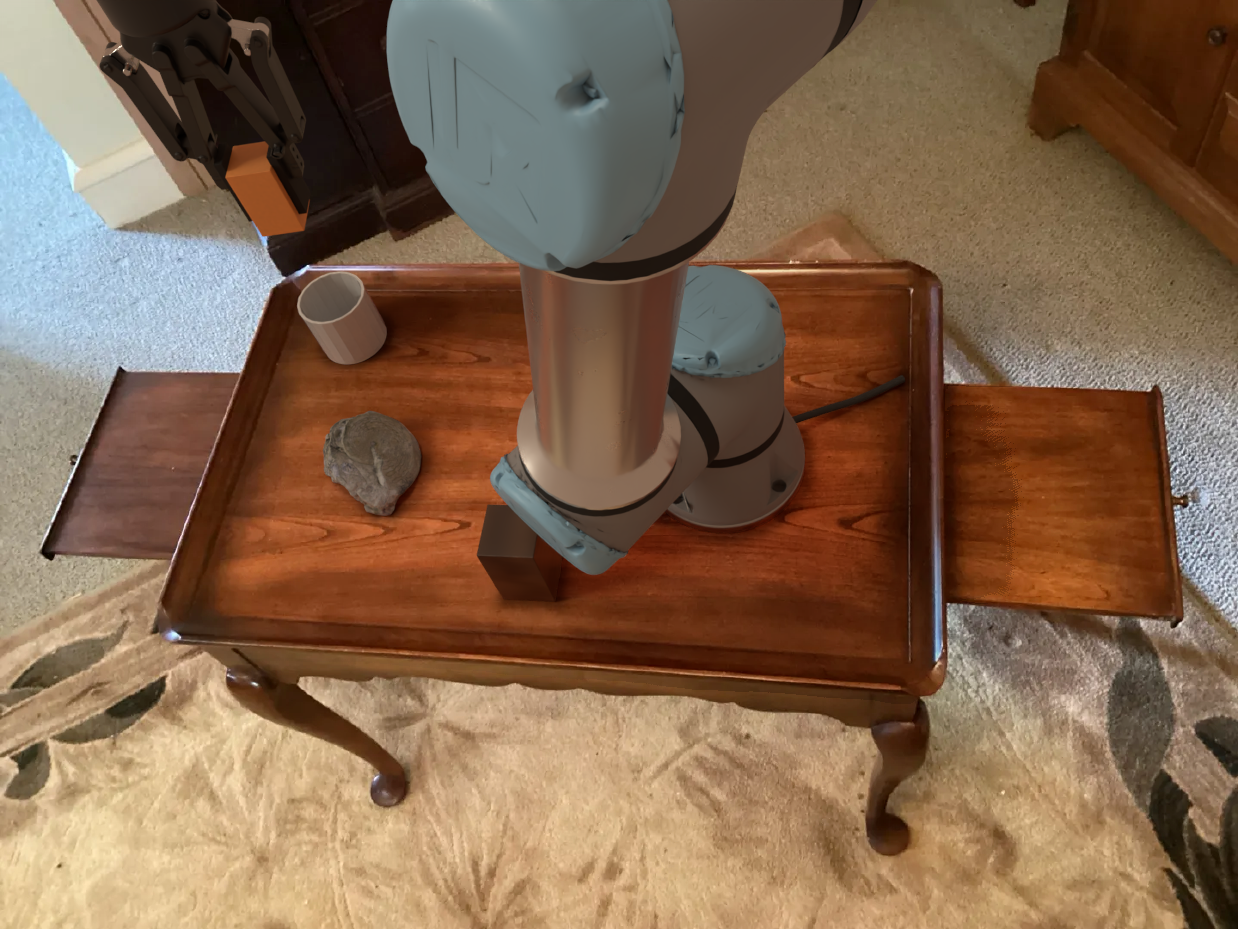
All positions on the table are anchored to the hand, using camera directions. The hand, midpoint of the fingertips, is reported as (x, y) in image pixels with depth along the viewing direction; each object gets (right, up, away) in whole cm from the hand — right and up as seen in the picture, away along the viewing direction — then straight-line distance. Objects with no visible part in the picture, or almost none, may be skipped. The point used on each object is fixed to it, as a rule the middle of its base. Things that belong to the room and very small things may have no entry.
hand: (279, 206), depth 87 cm
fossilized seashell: (+5, -24, +12) cm, 27 cm away
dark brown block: (+23, -34, +2) cm, 41 cm away
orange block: (0, -1, +1) cm, 1 cm away
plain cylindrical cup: (+1, -9, +22) cm, 24 cm away
